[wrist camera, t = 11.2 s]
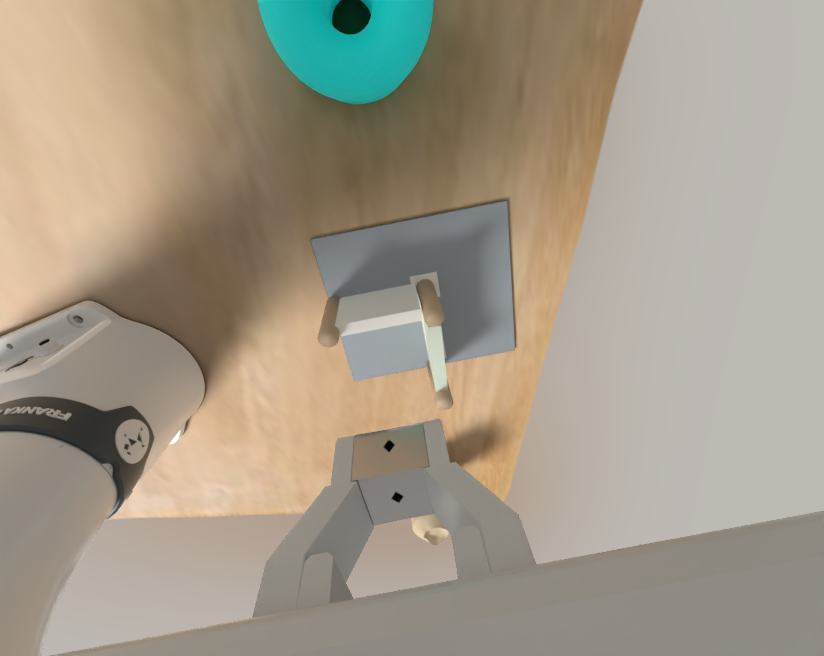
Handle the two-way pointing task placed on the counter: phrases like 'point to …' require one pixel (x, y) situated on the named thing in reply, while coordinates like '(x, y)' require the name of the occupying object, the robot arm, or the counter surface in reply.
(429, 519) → the candle
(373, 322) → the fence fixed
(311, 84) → the donuts
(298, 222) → the counter surface
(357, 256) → the board
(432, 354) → the fence panel
